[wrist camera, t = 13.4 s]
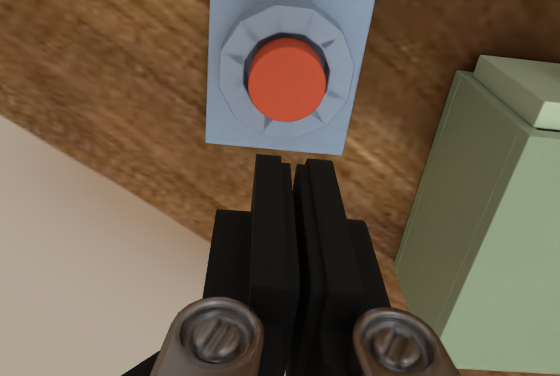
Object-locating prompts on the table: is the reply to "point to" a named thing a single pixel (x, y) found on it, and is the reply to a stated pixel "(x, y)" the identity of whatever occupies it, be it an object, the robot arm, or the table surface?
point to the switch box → (269, 26)
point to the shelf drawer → (524, 88)
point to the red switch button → (286, 80)
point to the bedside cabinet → (487, 236)
